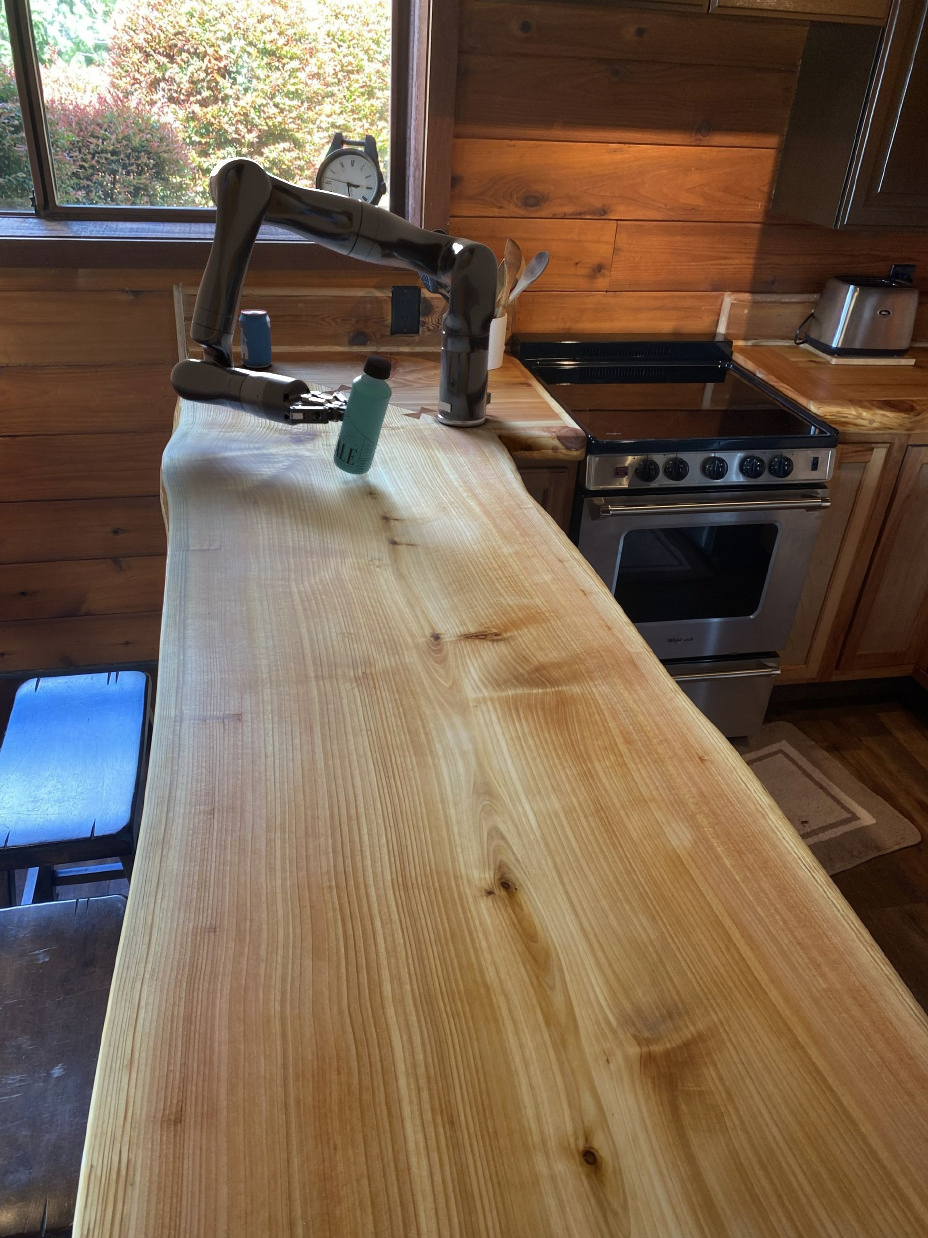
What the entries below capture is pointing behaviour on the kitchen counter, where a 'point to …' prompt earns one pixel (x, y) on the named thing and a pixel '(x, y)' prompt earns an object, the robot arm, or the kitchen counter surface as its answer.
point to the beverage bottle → (363, 417)
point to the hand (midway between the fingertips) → (360, 417)
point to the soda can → (255, 338)
